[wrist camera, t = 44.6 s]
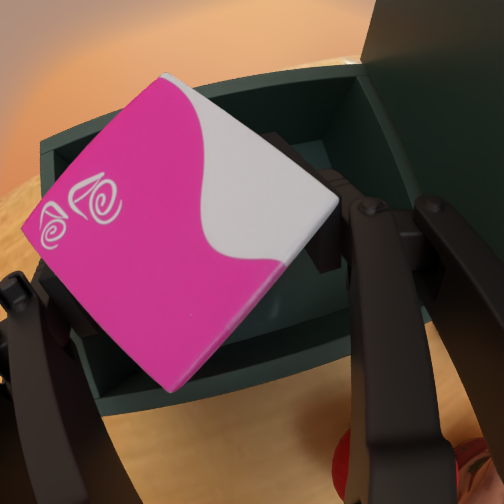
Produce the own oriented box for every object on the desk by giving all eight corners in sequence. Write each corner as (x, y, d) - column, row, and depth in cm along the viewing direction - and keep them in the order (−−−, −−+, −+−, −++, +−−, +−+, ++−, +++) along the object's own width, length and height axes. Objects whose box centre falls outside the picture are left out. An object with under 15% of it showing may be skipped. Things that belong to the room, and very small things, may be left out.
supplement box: (204, 193, 18) (169, 60, 7) (282, 261, 18) (359, 203, 7) (136, 268, 18) (11, 227, 6) (214, 340, 17) (181, 410, 6)
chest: (141, 375, 21) (90, 418, 12) (98, 190, 22) (39, 141, 13) (381, 306, 22) (455, 309, 13) (324, 132, 24) (363, 63, 15)
